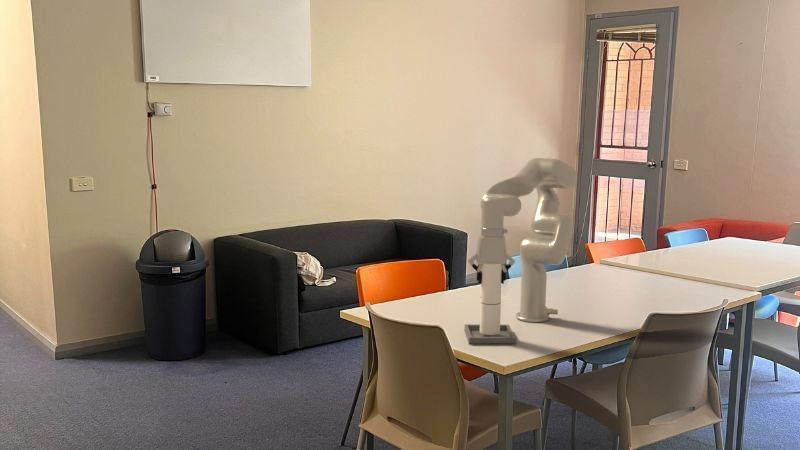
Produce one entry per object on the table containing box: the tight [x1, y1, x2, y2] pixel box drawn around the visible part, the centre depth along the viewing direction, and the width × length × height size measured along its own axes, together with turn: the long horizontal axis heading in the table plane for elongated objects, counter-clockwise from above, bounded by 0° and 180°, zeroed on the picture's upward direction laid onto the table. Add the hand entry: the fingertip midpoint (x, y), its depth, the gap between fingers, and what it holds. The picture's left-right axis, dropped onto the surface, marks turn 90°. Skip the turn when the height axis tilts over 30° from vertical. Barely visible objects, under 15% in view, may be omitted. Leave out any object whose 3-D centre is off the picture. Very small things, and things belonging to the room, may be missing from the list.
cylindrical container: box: [479, 263, 502, 335], centre depth 262 cm, size 7×7×25 cm
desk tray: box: [464, 323, 517, 346], centre depth 263 cm, size 16×16×2 cm
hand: (490, 282), depth 261 cm, fingers closed on cylindrical container, 7 cm apart
